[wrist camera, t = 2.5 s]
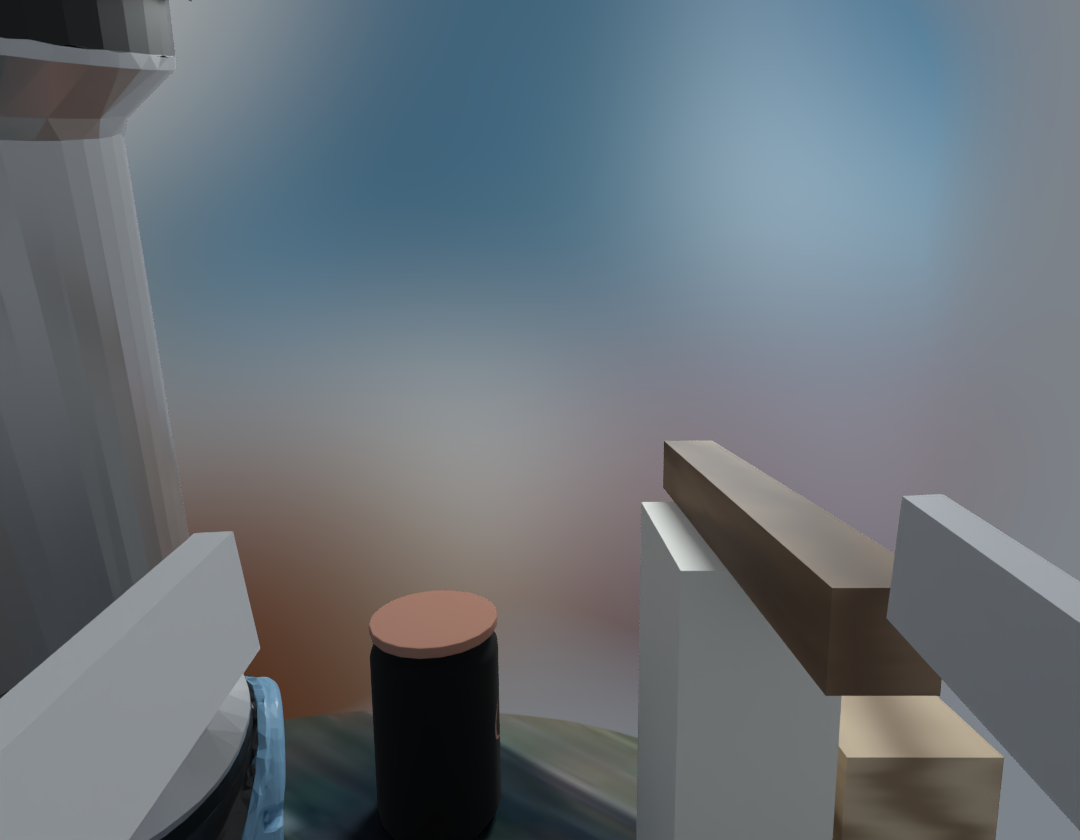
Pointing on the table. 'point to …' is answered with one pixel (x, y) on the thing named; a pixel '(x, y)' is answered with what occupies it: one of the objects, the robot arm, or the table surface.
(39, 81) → the robot arm
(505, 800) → the table surface
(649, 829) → the white block
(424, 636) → the coffee jar
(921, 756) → the oak block
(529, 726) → the table surface
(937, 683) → the walnut bar
